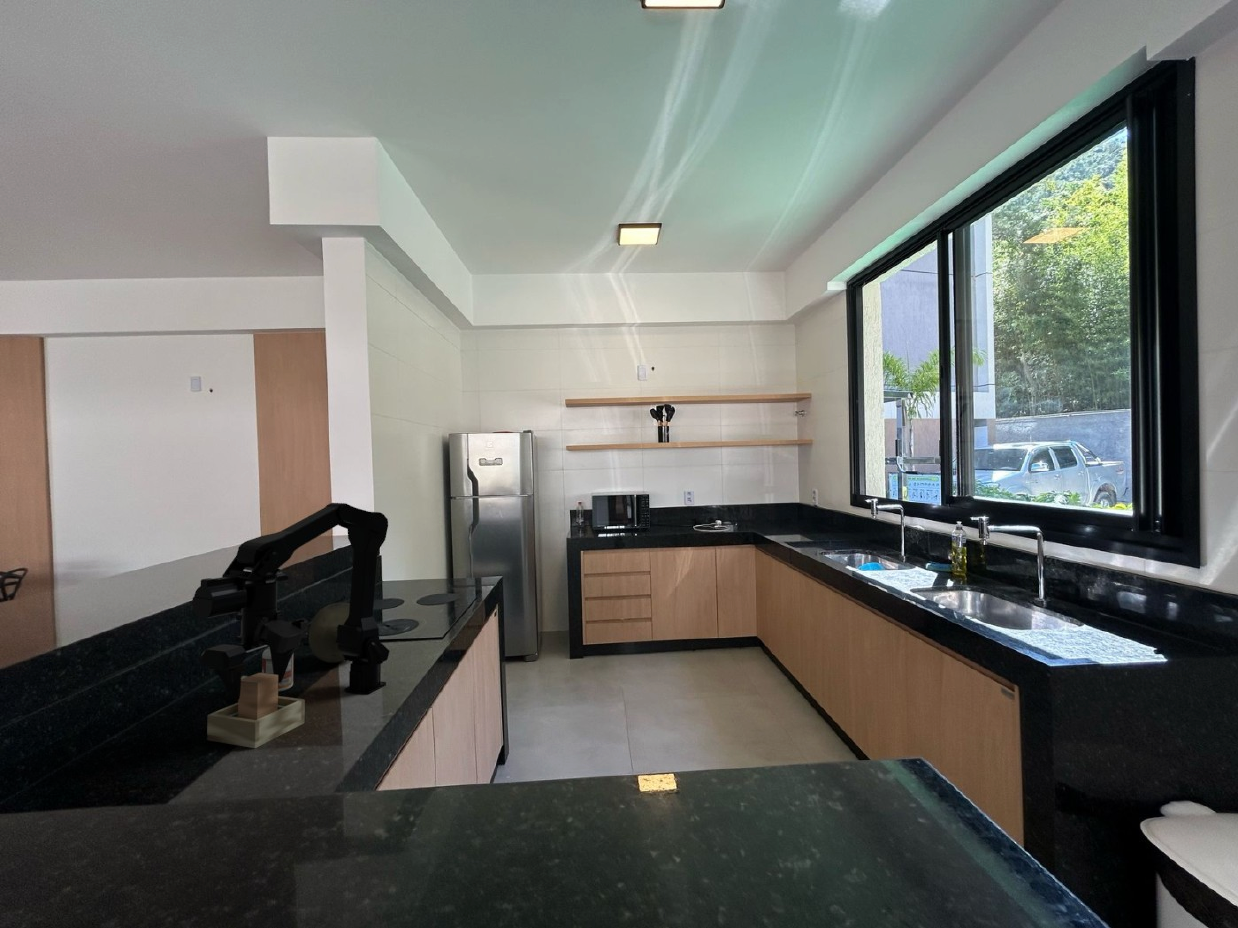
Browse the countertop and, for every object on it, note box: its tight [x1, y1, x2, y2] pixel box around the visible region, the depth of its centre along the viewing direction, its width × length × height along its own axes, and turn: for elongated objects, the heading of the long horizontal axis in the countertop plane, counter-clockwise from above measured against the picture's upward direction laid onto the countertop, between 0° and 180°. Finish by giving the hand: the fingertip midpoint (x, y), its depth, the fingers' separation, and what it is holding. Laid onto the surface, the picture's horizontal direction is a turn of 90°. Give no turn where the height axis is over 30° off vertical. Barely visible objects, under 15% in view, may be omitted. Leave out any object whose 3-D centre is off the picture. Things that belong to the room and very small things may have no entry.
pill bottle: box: [261, 647, 295, 693], centre depth 133 cm, size 6×6×11 cm
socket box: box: [206, 695, 306, 749], centre depth 111 cm, size 11×11×4 cm
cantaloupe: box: [308, 602, 350, 664], centre depth 151 cm, size 14×14×15 cm
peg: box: [237, 672, 279, 720], centre depth 111 cm, size 4×4×9 cm
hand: (258, 690), depth 111 cm, fingers open, 9 cm apart
